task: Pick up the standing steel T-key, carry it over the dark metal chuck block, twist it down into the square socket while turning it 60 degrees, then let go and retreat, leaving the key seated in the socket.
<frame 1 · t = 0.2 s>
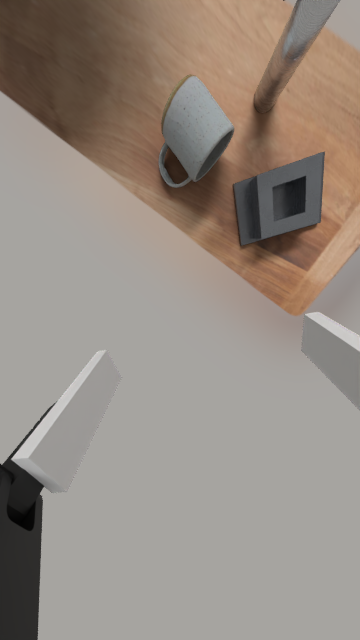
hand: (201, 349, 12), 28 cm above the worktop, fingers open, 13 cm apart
t key: (265, 97, 25), on the worktop
ceramic mug: (190, 156, 28), on the worktop
chuck block: (276, 204, 30), on the worktop
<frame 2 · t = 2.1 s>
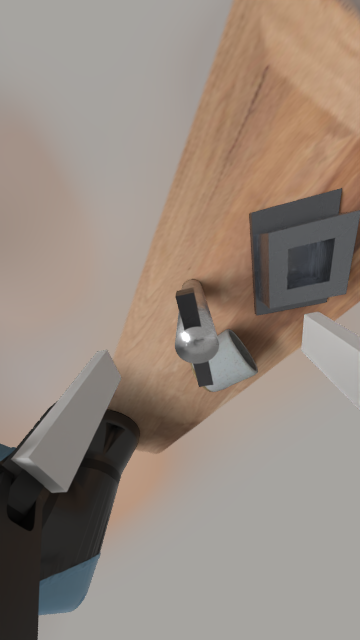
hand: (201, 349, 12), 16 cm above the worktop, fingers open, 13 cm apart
t key: (191, 289, 26), on the worktop
ceramic mug: (223, 351, 31), on the worktop
chuck block: (289, 261, 24), on the worktop
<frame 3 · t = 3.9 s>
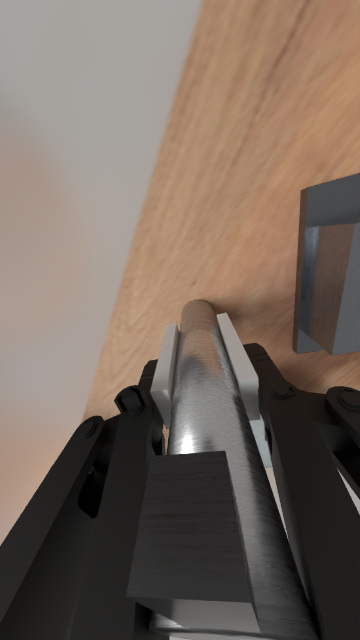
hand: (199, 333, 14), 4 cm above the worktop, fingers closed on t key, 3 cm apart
t key: (197, 315, 17), on the worktop, touching gripper
ceramic mug: (243, 398, 22), on the worktop
chuck block: (359, 272, 14), on the worktop
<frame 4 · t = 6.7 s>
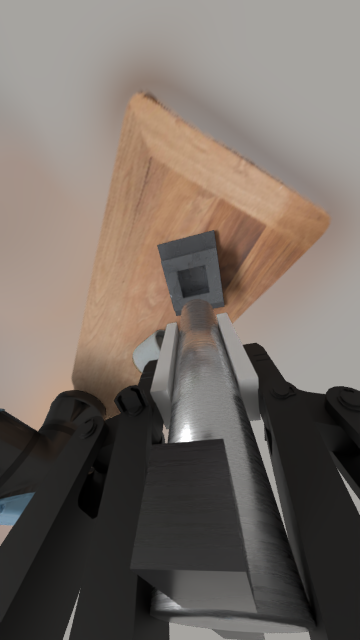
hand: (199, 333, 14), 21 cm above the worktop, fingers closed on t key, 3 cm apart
t key: (197, 314, 17), point 18 cm above the worktop, touching gripper
ceramic mug: (163, 346, 41), on the worktop
chuck block: (193, 276, 33), on the worktop
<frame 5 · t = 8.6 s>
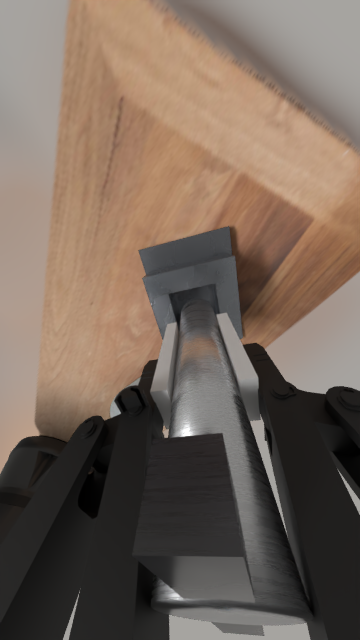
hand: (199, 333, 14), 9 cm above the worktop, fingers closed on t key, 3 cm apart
t key: (197, 313, 17), point 5 cm above the worktop, touching gripper
chuck block: (194, 297, 22), on the worktop
when the fingers open (6 cm above the worktop, at t = 9.8 s): t key stays where it is, resting on chuck block.
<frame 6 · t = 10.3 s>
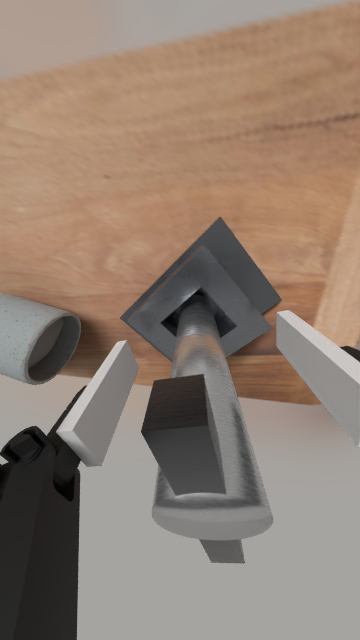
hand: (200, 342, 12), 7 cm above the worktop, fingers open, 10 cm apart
t key: (195, 309, 18), point 1 cm above the worktop, touching chuck block
ceramic mug: (52, 328, 21), on the worktop
chuck block: (196, 306, 19), on the worktop
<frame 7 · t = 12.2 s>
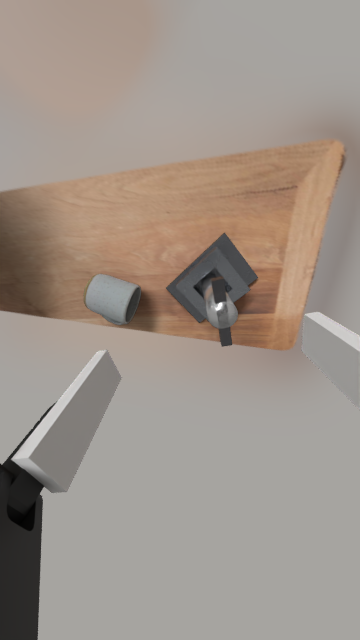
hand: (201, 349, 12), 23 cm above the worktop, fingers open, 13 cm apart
t key: (209, 282, 32), point 1 cm above the worktop, touching chuck block
ceramic mug: (122, 298, 36), on the worktop
chuck block: (210, 282, 33), on the worktop
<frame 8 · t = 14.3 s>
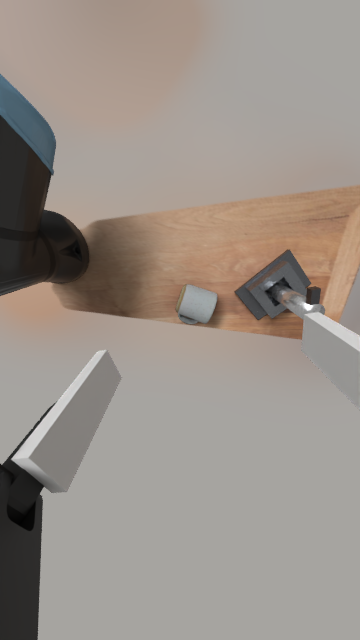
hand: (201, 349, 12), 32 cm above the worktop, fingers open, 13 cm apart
t key: (271, 288, 40), point 1 cm above the worktop, touching chuck block
ceramic mug: (194, 302, 44), on the worktop
chuck block: (271, 287, 41), on the worktop
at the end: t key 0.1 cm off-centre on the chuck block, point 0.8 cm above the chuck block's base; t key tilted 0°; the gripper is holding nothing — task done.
